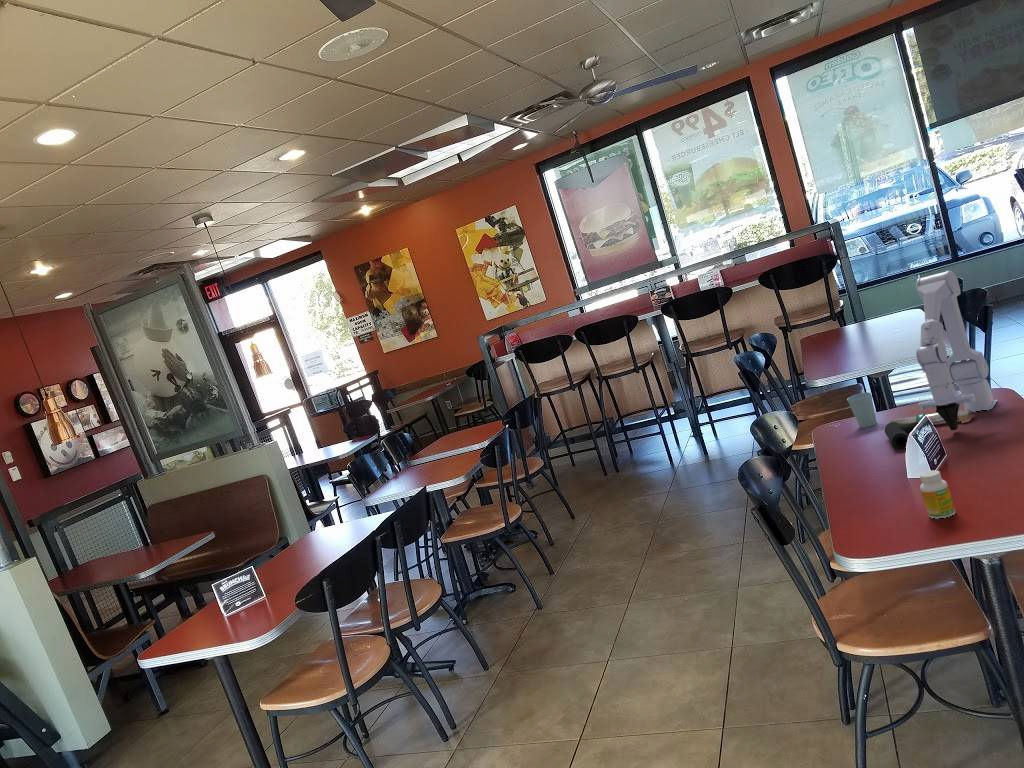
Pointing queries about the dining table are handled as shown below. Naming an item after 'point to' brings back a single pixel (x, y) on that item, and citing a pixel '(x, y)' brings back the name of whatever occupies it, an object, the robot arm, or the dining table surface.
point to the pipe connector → (899, 433)
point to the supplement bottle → (936, 495)
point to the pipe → (935, 417)
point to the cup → (863, 409)
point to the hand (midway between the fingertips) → (954, 429)
